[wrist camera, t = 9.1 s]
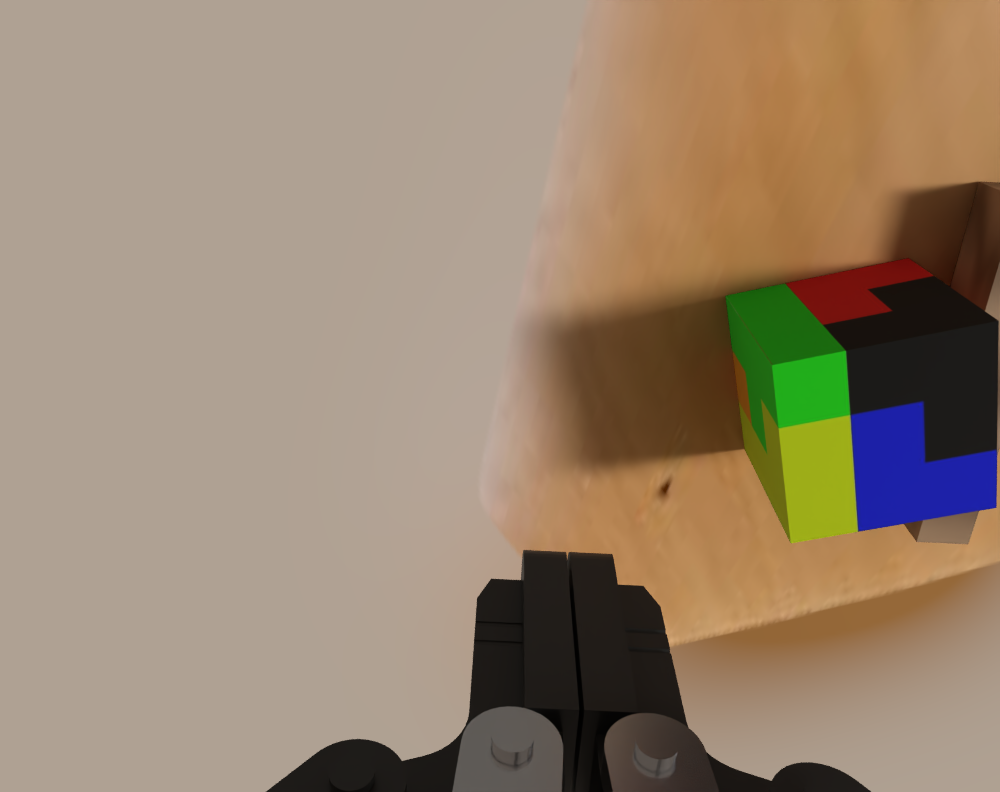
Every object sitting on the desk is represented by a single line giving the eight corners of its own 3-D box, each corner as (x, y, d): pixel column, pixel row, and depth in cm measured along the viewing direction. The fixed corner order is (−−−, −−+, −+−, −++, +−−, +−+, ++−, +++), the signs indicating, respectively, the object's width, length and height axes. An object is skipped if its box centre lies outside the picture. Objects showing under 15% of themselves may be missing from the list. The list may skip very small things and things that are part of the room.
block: (979, 181, 46) (1018, 198, 42) (1035, 184, 46) (1080, 201, 42) (890, 504, 54) (916, 541, 51) (938, 507, 54) (968, 544, 51)
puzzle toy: (912, 417, 52) (996, 507, 43) (744, 448, 53) (790, 543, 44) (907, 257, 48) (998, 320, 39) (725, 295, 49) (771, 365, 40)
